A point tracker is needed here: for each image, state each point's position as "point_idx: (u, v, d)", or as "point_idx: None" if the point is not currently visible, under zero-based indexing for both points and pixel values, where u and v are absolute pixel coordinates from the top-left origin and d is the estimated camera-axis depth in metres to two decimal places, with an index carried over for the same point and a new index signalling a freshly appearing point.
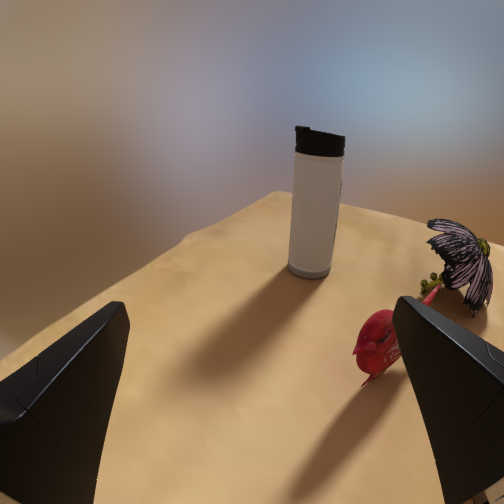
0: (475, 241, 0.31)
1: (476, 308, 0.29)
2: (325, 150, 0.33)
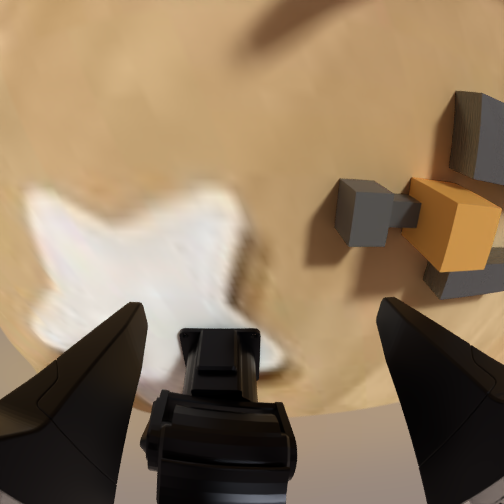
0: None
1: None
2: None
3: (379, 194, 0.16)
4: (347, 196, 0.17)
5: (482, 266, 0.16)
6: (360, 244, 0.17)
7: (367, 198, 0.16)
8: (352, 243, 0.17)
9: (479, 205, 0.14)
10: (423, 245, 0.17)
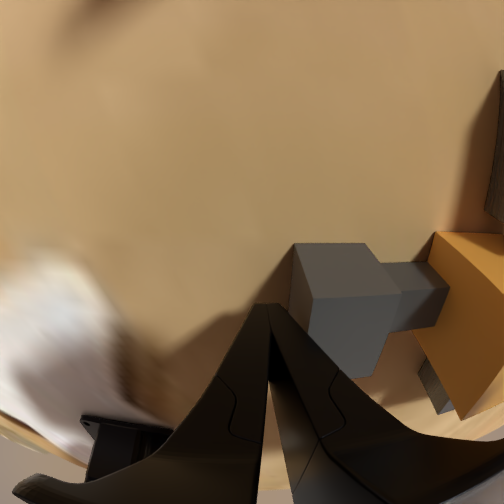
0: None
1: None
2: None
3: (369, 297, 0.07)
4: (301, 291, 0.09)
5: None
6: None
7: (340, 309, 0.07)
8: None
9: None
10: (442, 362, 0.09)
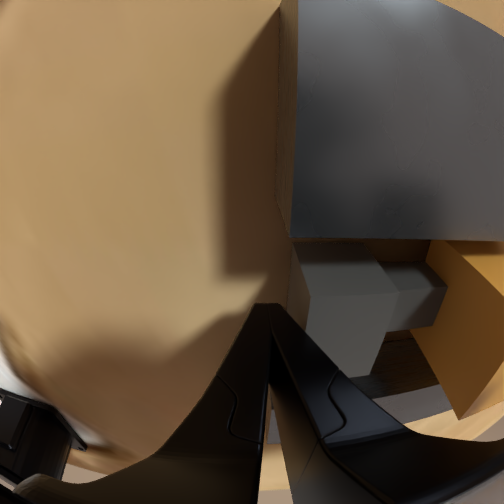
0: None
1: None
2: None
3: (367, 296, 0.07)
4: (299, 290, 0.09)
5: None
6: None
7: (337, 307, 0.07)
8: None
9: None
10: (440, 361, 0.09)
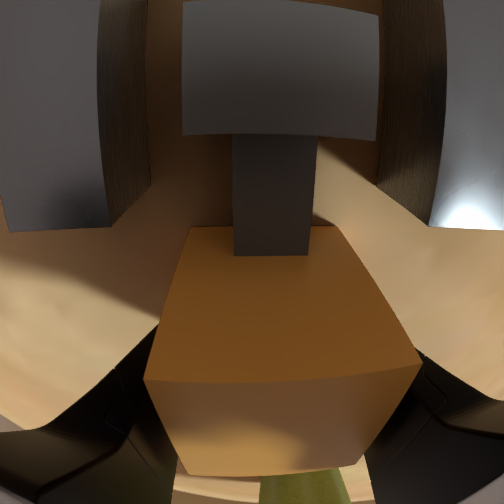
0: None
1: None
2: None
3: (376, 89, 0.04)
4: None
5: (196, 471, 0.06)
6: (189, 39, 0.04)
7: (360, 47, 0.04)
8: (196, 12, 0.04)
9: None
10: (199, 287, 0.06)
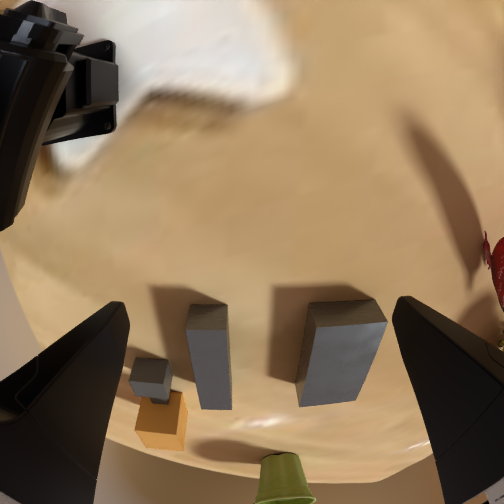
0: None
1: None
2: None
3: (166, 393, 0.25)
4: (158, 373, 0.25)
5: (147, 446, 0.26)
6: (132, 385, 0.24)
7: (161, 388, 0.25)
8: (131, 382, 0.24)
9: (179, 442, 0.26)
10: (144, 412, 0.27)
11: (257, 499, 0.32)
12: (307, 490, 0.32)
